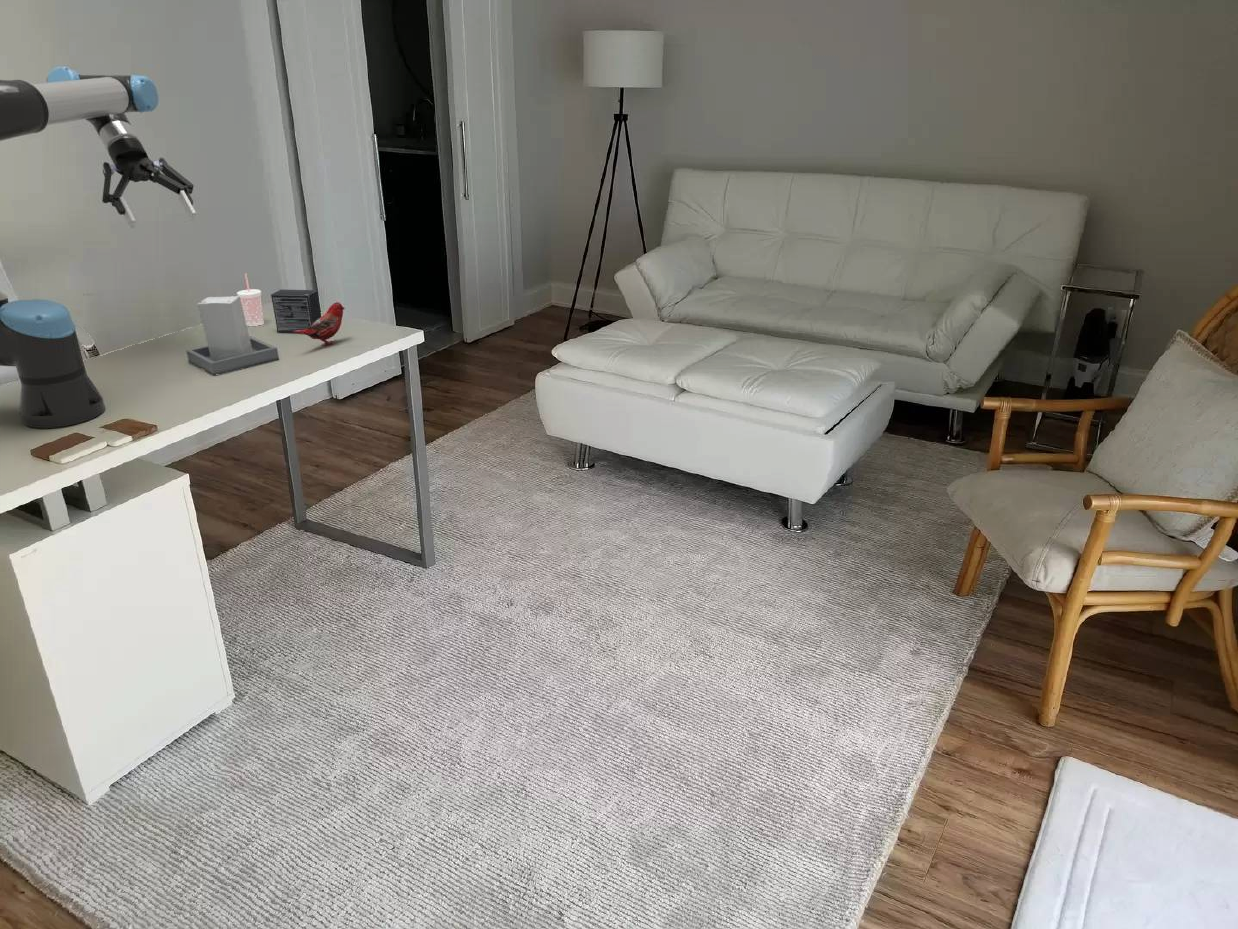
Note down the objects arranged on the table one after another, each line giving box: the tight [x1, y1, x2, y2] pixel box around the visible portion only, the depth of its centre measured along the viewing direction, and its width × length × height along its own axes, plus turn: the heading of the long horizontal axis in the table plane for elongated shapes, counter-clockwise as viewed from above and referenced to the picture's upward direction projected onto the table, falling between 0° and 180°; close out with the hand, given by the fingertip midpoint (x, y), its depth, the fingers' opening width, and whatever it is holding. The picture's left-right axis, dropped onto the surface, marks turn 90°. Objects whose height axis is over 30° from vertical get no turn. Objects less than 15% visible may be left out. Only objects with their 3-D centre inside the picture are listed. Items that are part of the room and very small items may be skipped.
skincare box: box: [197, 295, 253, 361], centre depth 214 cm, size 8×6×15 cm
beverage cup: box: [236, 272, 265, 327], centre depth 242 cm, size 6×6×14 cm
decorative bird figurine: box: [291, 301, 345, 347], centre depth 225 cm, size 3×18×10 cm, turn 149°
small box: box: [270, 289, 322, 334], centre depth 238 cm, size 11×6×10 cm, turn 84°
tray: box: [186, 335, 280, 376], centre depth 217 cm, size 16×14×3 cm
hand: (164, 220), depth 207 cm, fingers open, 13 cm apart
